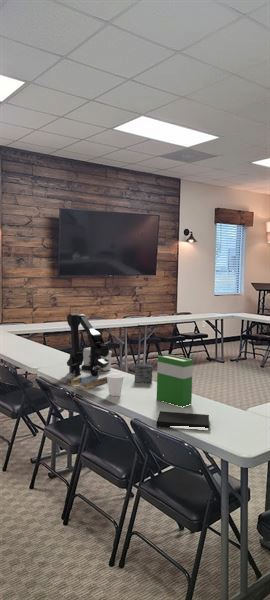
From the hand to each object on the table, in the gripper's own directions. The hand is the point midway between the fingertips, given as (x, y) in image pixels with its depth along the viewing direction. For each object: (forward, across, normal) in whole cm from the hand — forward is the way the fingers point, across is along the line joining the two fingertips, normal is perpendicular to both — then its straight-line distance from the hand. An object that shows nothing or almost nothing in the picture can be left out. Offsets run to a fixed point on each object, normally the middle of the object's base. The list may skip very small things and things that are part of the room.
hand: (94, 379), depth 272 cm
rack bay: (+2, -2, 0) cm, 2 cm away
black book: (+2, -29, -77) cm, 82 cm away
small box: (+2, +19, -23) cm, 30 cm away
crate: (+2, -5, 0) cm, 5 cm away
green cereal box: (+2, -5, -58) cm, 58 cm away
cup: (+2, -14, -26) cm, 29 cm away
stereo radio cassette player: (+2, +29, +21) cm, 36 cm away
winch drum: (+2, -10, +11) cm, 15 cm away
